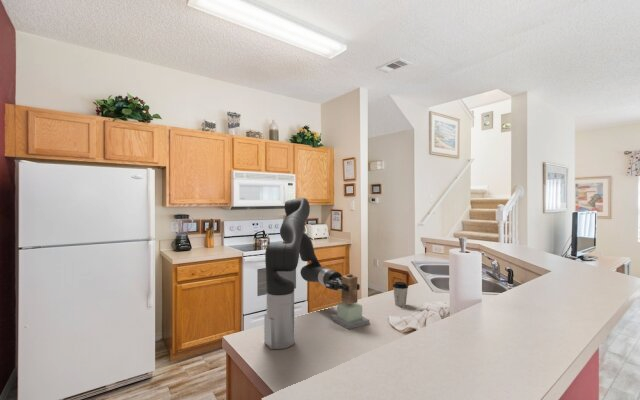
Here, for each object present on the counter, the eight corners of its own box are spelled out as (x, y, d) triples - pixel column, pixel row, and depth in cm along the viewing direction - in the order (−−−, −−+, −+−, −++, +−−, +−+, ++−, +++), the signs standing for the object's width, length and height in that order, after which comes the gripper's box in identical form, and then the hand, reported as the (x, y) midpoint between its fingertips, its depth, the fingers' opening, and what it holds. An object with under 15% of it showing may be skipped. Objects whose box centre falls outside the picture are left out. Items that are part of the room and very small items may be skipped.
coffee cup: (411, 306, 137) (411, 284, 137) (398, 308, 135) (398, 285, 135) (402, 301, 144) (402, 280, 144) (389, 303, 141) (389, 282, 141)
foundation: (348, 329, 113) (348, 311, 113) (330, 318, 123) (330, 302, 123) (369, 323, 118) (369, 306, 118) (350, 313, 128) (350, 298, 129)
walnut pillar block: (348, 304, 118) (348, 276, 118) (341, 301, 122) (341, 274, 122) (357, 302, 120) (357, 275, 120) (350, 299, 124) (350, 272, 124)
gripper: (315, 271, 129) (338, 281, 115) (343, 268, 137) (368, 276, 122) (315, 289, 129) (338, 301, 115) (343, 284, 137) (368, 295, 122)
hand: (353, 288), depth 119 cm, fingers closed on walnut pillar block, 4 cm apart
